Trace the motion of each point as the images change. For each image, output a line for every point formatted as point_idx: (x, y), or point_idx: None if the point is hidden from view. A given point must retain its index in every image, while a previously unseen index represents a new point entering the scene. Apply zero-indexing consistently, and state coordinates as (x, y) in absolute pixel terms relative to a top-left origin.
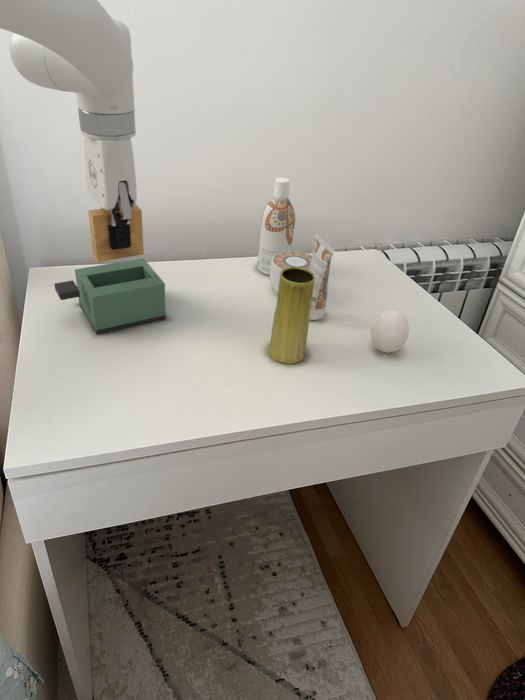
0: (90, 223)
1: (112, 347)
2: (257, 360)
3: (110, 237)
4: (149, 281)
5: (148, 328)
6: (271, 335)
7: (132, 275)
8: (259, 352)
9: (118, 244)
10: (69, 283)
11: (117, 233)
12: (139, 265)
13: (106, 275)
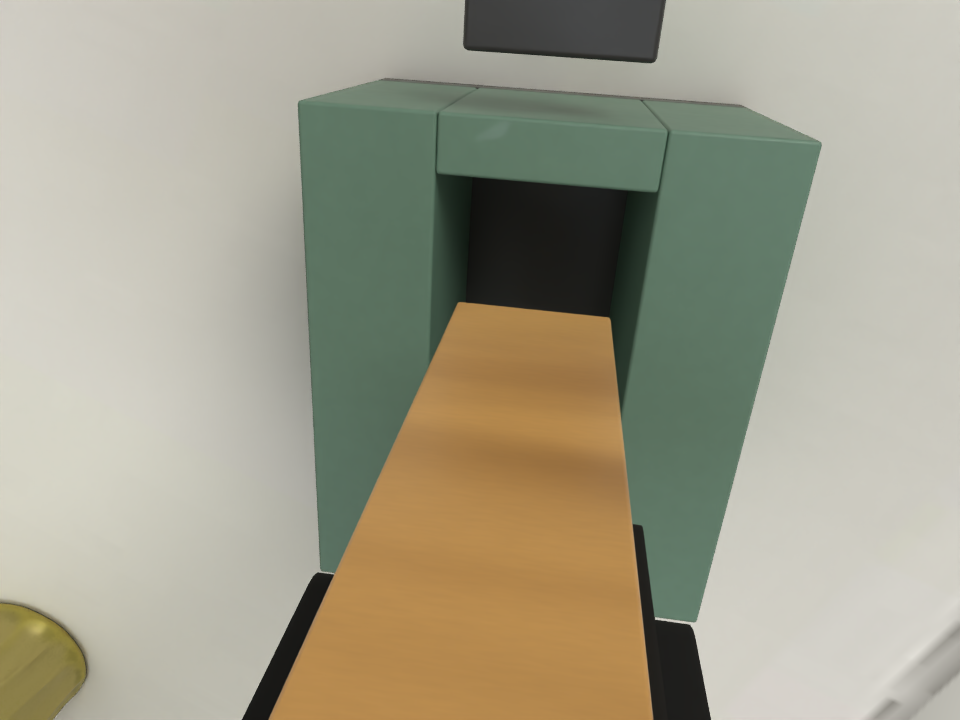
0: (570, 562)
1: (242, 111)
2: (5, 560)
3: None
4: None
5: None
6: (8, 674)
7: None
8: (49, 590)
9: (314, 580)
10: (613, 10)
11: (258, 690)
12: None
13: (629, 334)
